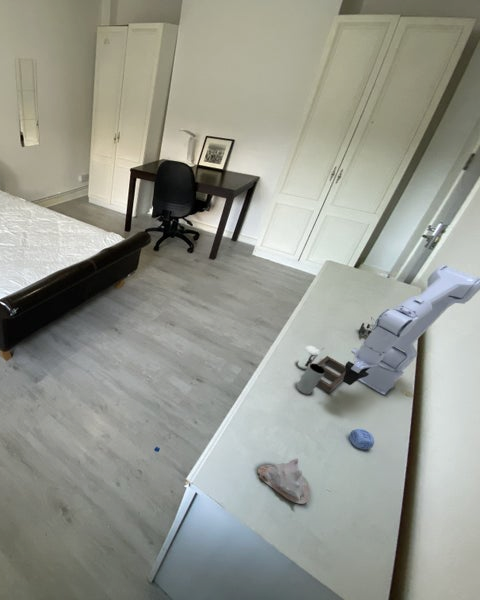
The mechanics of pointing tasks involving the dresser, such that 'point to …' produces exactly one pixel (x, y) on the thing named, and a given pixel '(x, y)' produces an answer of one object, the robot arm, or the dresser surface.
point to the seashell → (286, 480)
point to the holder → (331, 374)
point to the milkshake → (308, 356)
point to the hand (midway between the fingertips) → (351, 377)
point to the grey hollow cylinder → (310, 378)
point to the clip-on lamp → (366, 329)
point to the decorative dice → (361, 439)
